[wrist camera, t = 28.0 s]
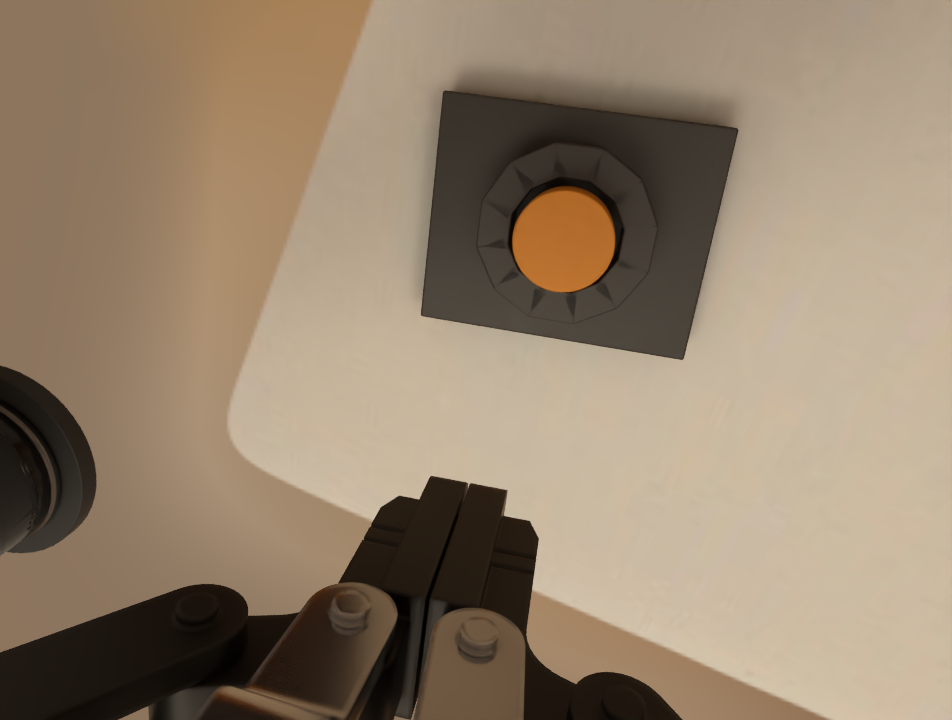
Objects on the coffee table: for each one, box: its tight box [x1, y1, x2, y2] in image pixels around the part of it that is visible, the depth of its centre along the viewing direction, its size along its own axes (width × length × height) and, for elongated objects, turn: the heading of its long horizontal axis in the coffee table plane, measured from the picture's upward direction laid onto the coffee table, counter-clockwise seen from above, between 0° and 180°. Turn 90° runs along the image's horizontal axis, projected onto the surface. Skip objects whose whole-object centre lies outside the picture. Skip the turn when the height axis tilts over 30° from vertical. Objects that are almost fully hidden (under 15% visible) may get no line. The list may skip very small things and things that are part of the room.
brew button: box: [512, 186, 615, 292], centre depth 25 cm, size 4×4×2 cm
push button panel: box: [421, 90, 738, 360], centre depth 27 cm, size 11×9×4 cm
